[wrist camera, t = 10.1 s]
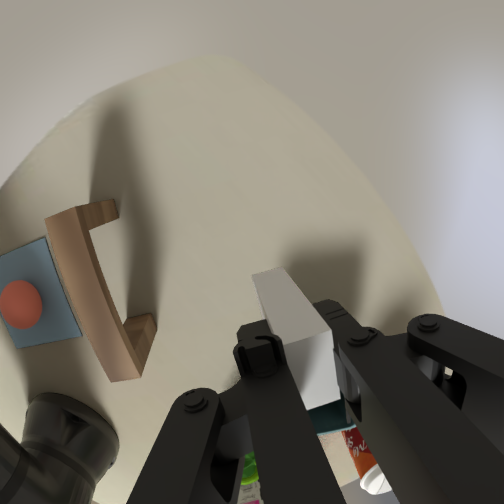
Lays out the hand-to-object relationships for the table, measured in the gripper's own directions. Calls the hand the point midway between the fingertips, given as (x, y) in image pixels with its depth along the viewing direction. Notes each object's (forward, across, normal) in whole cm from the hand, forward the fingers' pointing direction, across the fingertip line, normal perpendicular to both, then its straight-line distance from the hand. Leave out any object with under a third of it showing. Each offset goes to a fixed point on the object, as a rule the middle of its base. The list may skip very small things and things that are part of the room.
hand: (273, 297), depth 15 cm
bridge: (+16, +13, 0) cm, 21 cm away
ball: (+14, +26, 0) cm, 29 cm away
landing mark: (+16, +27, 0) cm, 32 cm away
